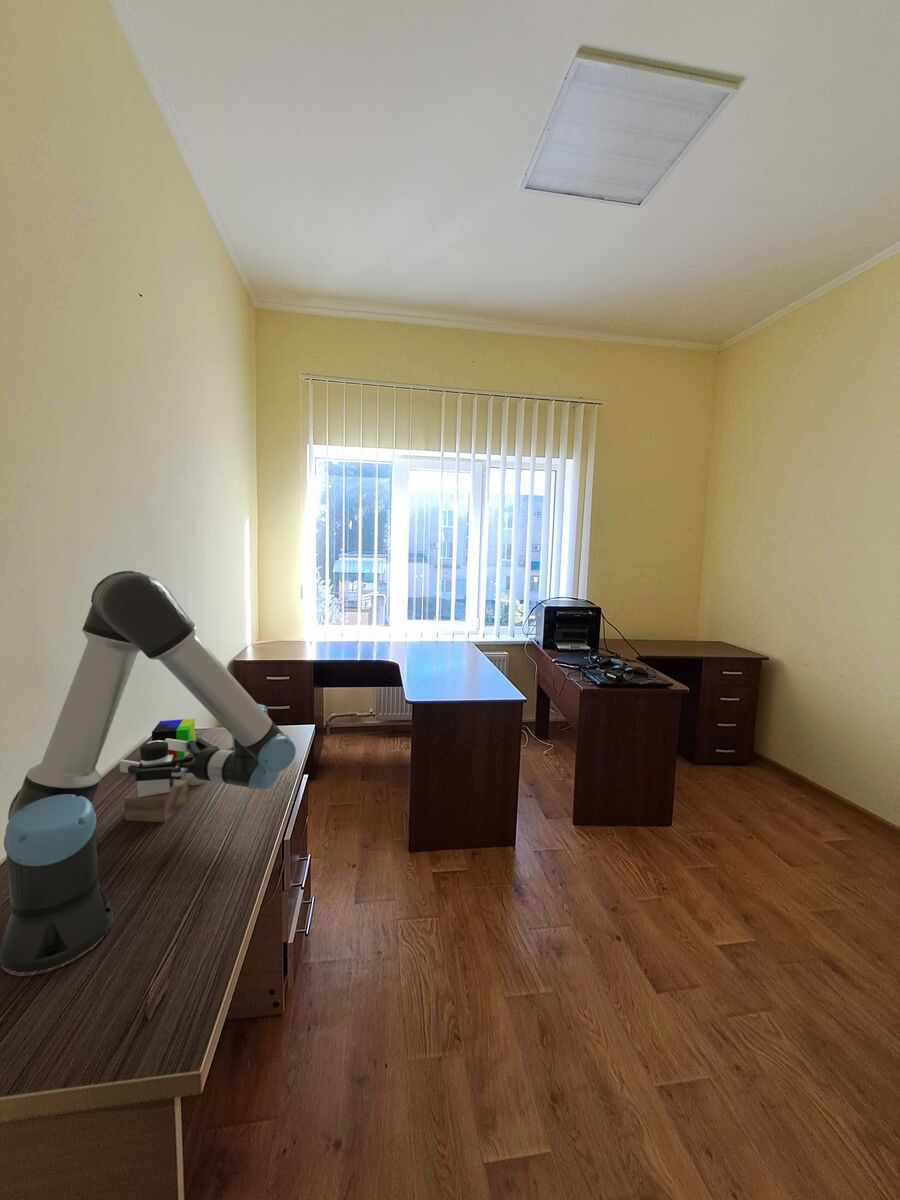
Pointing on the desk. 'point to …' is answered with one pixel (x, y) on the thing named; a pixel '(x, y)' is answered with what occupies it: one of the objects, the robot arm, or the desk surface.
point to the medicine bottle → (152, 755)
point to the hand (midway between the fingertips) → (144, 754)
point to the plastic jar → (189, 776)
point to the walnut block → (156, 804)
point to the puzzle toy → (175, 732)
